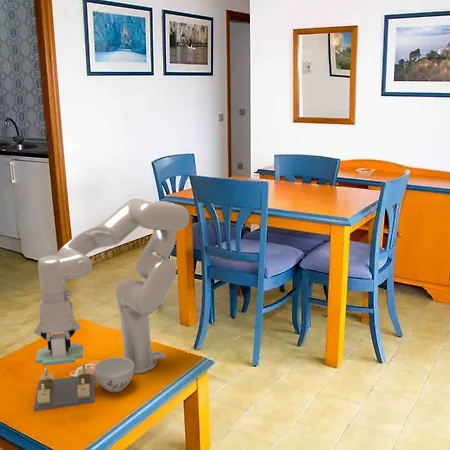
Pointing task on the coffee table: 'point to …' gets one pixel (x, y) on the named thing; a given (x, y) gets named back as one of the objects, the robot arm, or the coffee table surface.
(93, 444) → the coffee table surface
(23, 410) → the coffee table surface
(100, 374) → the teacup
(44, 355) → the circuit board
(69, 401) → the chassis
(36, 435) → the coffee table surface
